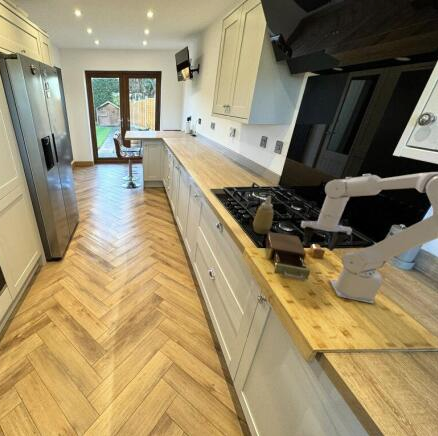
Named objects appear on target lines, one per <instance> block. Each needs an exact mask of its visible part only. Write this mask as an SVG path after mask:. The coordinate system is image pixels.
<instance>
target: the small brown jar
mask: <svg viewBox="0 0 438 436" xmlns="http://www.w3.org/2000/svg"><path fill="white" fill-rule="evenodd" d="M309 249H310V251H311V253H312V254H311V257H312V258H316V259H321V260H322V259H323V258H324V255H325V254H326V250H325V249H323V248H322V247H321V245H320V244H318V243H313V244H311V245H310V247H309Z"/></svg>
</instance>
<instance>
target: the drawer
mask: <svg viewBox="0 0 438 436" xmlns="http://www.w3.org/2000/svg"><path fill="white" fill-rule="evenodd" d="M273 260H274V261H273V263H274V269H273V273H274V274H276V275H280V276H283V278H284V279H285V278H286V279H290V280H295V281H300V282H306V281H307V280H308V279H309V276H310V274H311V269H310V268H307V266H306V263H305V260H304V261H303V258H302V256H301V255H299V254H293V253H287V252H281V251H276V250H274V252H273Z"/></svg>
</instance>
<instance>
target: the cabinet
mask: <svg viewBox="0 0 438 436" xmlns="http://www.w3.org/2000/svg"><path fill="white" fill-rule="evenodd" d="M264 245H265V249H266V253H267V258H268V261H271V262H272V261H273V262H274V260H273V252H274V250H276V251H281V252H287V253H293V254H299V255H301V256H302V258H303V261H304V262H305V259H306V256H307V252H306V250H305V248H304V246H303V243H302V241H301V239H300V237H299V236H297V235H291V234H285V233H279V232H272V231H268V232H267V234H266V238H265V242H264Z"/></svg>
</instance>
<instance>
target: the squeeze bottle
mask: <svg viewBox="0 0 438 436" xmlns="http://www.w3.org/2000/svg"><path fill="white" fill-rule="evenodd" d="M271 201H272V197H271V196H270V195H269V196H267V197H266V199H265V201H264V202H262V203H261V206H259V207H258V208H257V211H256V214H255V216H254V219H253V222H252V227H253V231H254V233H256V234H259V235H267V234H268V232H270V230H271V228H272V225H273V219H274V213H275V212H274V211H275V210H274V209H273V207H274V205H273V204H272V203H271Z"/></svg>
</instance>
